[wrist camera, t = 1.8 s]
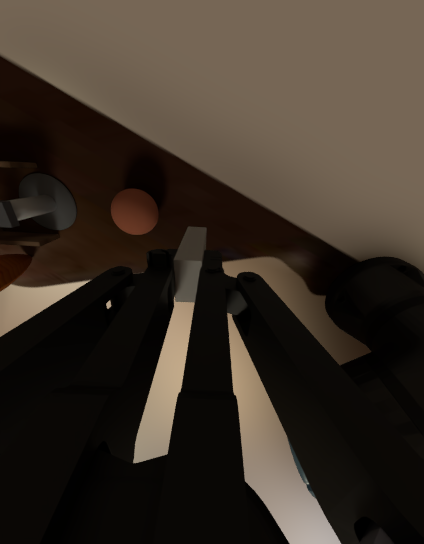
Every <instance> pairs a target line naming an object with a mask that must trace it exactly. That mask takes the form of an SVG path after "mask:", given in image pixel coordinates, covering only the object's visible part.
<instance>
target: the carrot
mask: <svg viewBox="0 0 424 544" xmlns="http://www.w3.org/2000/svg"><path fill="white" fill-rule="evenodd" d="M31 261H32V257H31V256H30V255H24V254H7V255H0V291H2V290H3V289H5V288H6V287H8V286H9V285H10V284H11V283H13V282H14V281H15V280H16V279H17V278H18V277H19V276H21V275H22V274H23V273H24V271H25V270H26V269H27V268H28V266H29V265H30V263H31Z"/></svg>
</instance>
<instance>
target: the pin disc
mask: <svg viewBox="0 0 424 544" xmlns="http://www.w3.org/2000/svg"><path fill="white" fill-rule="evenodd" d="M40 195H48V196H50V197H51V198H53V199H54V201H55V203H56V210H55V211H53V212H49V213H46V214H42V215H38V216H34V217H31V218H32V219H33V220H34V221H35V222H37V223H38V224H40V225H42V226H43V227H46V228H48V229H52V230H63V229H66V228H68V227H70V226H71V225H72V224H73V223H74V221H75V219H76V215H77V209H76V204H75V201H74V199H73V196H72V195H71V193H70V192H69V190H68V189H67V188H66V187H65V186H64V185H63V184H62V183H61V182H60V181H58V180H57V179H55V178H53V177H51V176H49V175H46V174H41V173H35V174H30V175H28V176H26V177H25V178H24V179H23V180H22V181H21V183H20V185H19V198H20V199H21V198H27V197H34V196H40Z"/></svg>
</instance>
